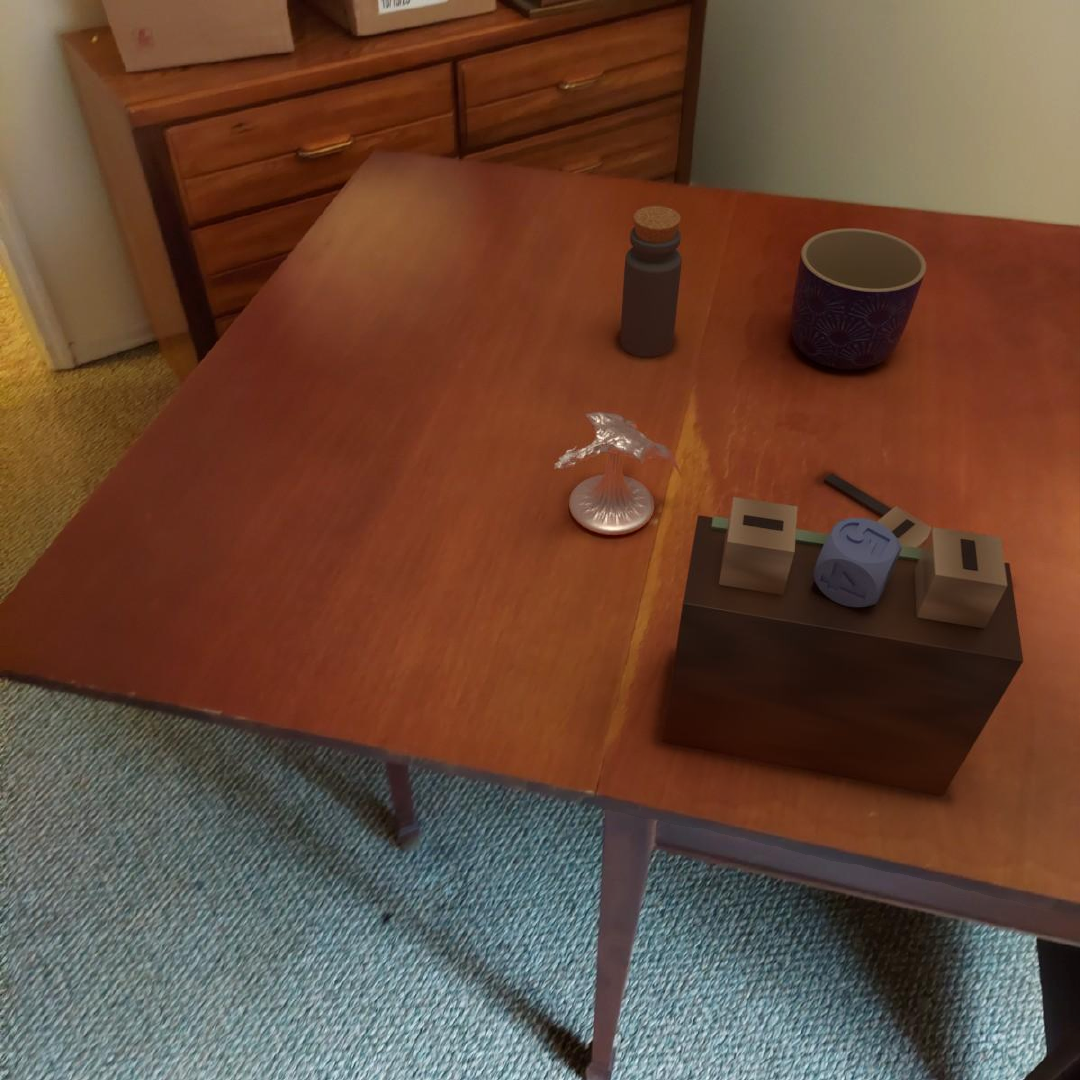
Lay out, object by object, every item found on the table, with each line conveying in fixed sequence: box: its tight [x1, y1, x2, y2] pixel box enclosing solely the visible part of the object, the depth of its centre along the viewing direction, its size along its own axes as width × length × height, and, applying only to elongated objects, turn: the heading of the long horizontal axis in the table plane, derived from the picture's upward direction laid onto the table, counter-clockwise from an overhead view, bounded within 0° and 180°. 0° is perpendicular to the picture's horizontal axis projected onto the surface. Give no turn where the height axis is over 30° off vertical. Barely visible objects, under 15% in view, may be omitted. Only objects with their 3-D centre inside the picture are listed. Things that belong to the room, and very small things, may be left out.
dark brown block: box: [661, 496, 1024, 797], centre depth 64 cm, size 20×8×20 cm, turn 77°
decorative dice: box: [813, 517, 902, 607], centre depth 59 cm, size 4×4×4 cm
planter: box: [790, 227, 927, 371], centre depth 101 cm, size 12×12×11 cm
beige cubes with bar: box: [823, 473, 933, 548], centre depth 83 cm, size 18×7×4 cm, turn 42°
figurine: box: [553, 411, 683, 536], centre depth 84 cm, size 8×12×10 cm, turn 126°
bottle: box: [619, 205, 683, 359], centre depth 100 cm, size 6×6×15 cm
